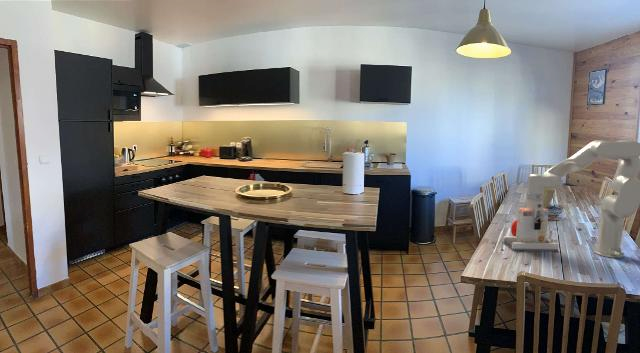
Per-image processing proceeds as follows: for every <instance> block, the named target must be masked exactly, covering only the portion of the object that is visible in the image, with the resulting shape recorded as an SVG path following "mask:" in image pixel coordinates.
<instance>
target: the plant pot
mask: <svg viewBox="0 0 640 353" xmlns="http://www.w3.org/2000/svg"><path fill="white" fill-rule="evenodd" d="M555 191H556V189H549V188H544V190H543V200H542V201H543V208H544V209H548V207H549V205H550V203H551V201H552V199H553V197H554V194H555Z"/></svg>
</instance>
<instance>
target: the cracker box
mask: <svg viewBox="0 0 640 353" xmlns="http://www.w3.org/2000/svg"><path fill="white" fill-rule="evenodd" d="M543 216H544V218H543V221H542V223H541V229H540V230H534V224H535V219H534V218H532V210H530V209H528V208H525V207H518V208H517V218H516V220H517V230H516V242H520V243H546V237H547V234H548V233H547V232H548V224H549V223H548V222H549V209H548V208H545V209H544V208H543ZM537 220H538V219H537Z"/></svg>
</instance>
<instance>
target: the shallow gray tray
mask: <svg viewBox="0 0 640 353" xmlns="http://www.w3.org/2000/svg"><path fill="white" fill-rule="evenodd" d="M503 243H504V244H503ZM502 244H503V245H504V246H506V247H507V246H508V247H507V248H509V249H510V248H511V249H510V250H511V251H513V250H524V251H525V252H527V251H528V252H529V251H530V252H532V251H533V252H534V251H535V252H559V243H558V242H551V241H549V240H548V237H547V236H546V243H520V242H516V237H513V235H512V236H509V235H508V236H503V237H502ZM524 251H523V252H524Z"/></svg>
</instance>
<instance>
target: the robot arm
mask: <svg viewBox="0 0 640 353" xmlns="http://www.w3.org/2000/svg"><path fill="white" fill-rule="evenodd" d="M600 158H601V159H610V160H611V159H613V160H614V159H615V160H617V161H618V163H617V164H618V165H617V169H616V171H615V174H614V176H613V179H612V181H611V184H610V187H611V189H612V191H614V192H616V193H617V194H618V195H617V194H608V195H606V196H603V198H602V199H601V202H600V223H599V227H598V228H599V229H598V237H597V242H596V244H597V245H596V247H593V248H592V252H593V253H595V254H597V255H599V256H602V257H605V258H611V259H612V258H613V259H621V258H624V256H625V253H624V252H622V248H621V245H622V238H623V231H624V225H625V219H628V218H631V217H633V216H634V215H635V213H636V211H637V210H638V208H639V206H640V179H639V178H638V175H639V174H640V173H639V172H640V142H638V141H635V140H628V139H627V140H625V139H619V140H616V141H611V140H610V141H608V140H600V139H599V140H597V139H596V140H593V141H591V142H588V144H586V145H585V146H583V147H582V148H581V149H579V150H578V151H577V152H576V153H575V154H573V155H571V156H570V157H568V158H566V159H564V160H562V161H560V162H558V163H557V164H555V165H553V166H552V167H551V168H549V169H547V171H545V172H543V174H541V173H530V174H529V175H528V178H527V189H526V201H525V207H524V208H528V209H530V210H532V218H534V219H535V224H534V230H540V229H541V223H542V221H543V218H544V216H543V201H542V200H543V190H544V188H549V189H555V190H557V189H560V188H561V187H562V186H563V184H564V181H563V177H565V176H566V175H569V174H571V173H572V174H573V173H575V172H580V171H582V170H585V169H587V167H588V166H590V165H591V164H593V163H594V162H596V161H597V160H599V159H600ZM537 219H538V220H537Z"/></svg>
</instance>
